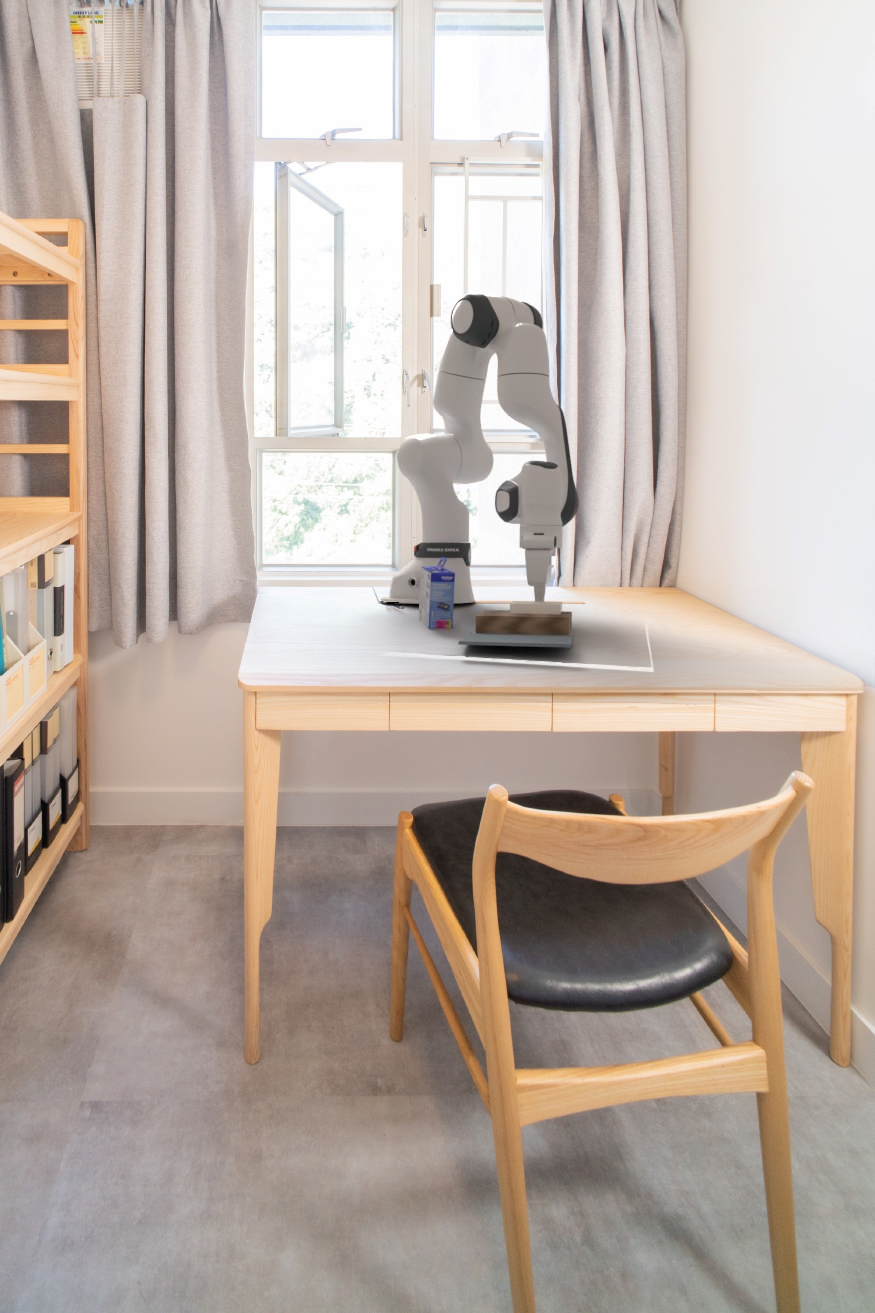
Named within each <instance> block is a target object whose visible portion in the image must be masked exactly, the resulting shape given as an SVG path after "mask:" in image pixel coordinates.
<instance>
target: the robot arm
mask: <svg viewBox="0 0 875 1313" xmlns="http://www.w3.org/2000/svg"><path fill="white" fill-rule="evenodd" d="M543 324H544V323H543V317H542V314H541V313H540V311H539V310H538V309H537V308H536V307H534V306H533V305H531V304H530V303H528V302H525V301H519V300H516V299H514V298H512V297H511V298H510V297H506V296H505V295H504V296H503V295H491V294H484V293H482V292H470V293H469V292H468V293H465V294H463V295H461V296H460V297H458V299H457V300H456V301H455V303H454V305H453V307H452V310H451V312H450V328H451V329H450V332H449V333H448V336H447V338H446V341H445V343H444V346H443V347H444V348H443V350H442V354H441V358H440V361H439V366H438V371H437V377H436V382H435V387H434V394H433V400H432V404H433V408H434V410H435V411H436V412H437V414H438V415H440V417H442V420H443V423H444V434H434V433H419V434H414V435H410V436H407V437H406V438H404V439H403V440H402V442H401V444H400V445H399V447H398V449H397V450H398V451H397V454H396V455H397V456H396V458H397V459H396V460H397V466H398V468H399V470H400V473H401V474H402V475H403V477H404V478H405V477H406V479H407V480H408V481H409V482H410V483H411V485H412V487H413V488H414V490H415V493H416V495H417V498H418V500H419V505H420V511H421V522H422V523H421V524H422V527H421V528H422V542H420V543H418V544H416V545H414V546H413V556H414V557H415V558H413V559H411V561H410V562H408V563H407V564H406V565H405V566H404V567H402V568H401V569H399V570H398V571H397V572H396V573H395V574H393V577H392V578H391V581H390V582H391V583H390V589H389V595H388V596H389V597H383V596H381V597H380V601H381V600H382V601H396V602H399V603H398V604H417V605H419V600H420V580H421V567H426V566H437V565H438V563H439V561H440V560H441V558H442V557H444V558H446V559H447V561H446V563H445V564H444V566H443V567H445V568H446V569H448V570H450V571H452V572H454V573H455V582H454V604H465V603H466V604H468V603H474V602H476V598H475V596H474V591H473V585H472V579H471V571H470V569H471V568H470V566H471V565H472V564H471V563H472V548H471V546H472V544H471V542H470V511H469V508H468V506H467V505H466V504H465V503H464V502H463V501H462V500H460V499H459V497H458V496H457V494H456V491H455V488H454V484H458V485H459V484H460V485H469V484H474V483H478V482H483V481H484V480H486V479H488V477H489V476H490V474H491V473H492V471H493V468H494V453H493V451H492V449H491V447H490V446H489V444H488V443H487V442H486V439H485V437H484V434H483V430H482V423H481V411H482V404H483V398H484V392H485V386H486V381H487V375H488V370H489V364H490V362H491V359H492V357H493V356H494V355H495V354H496V356H497V380H496V382H497V383H496V384H497V386H496V387H497V388H496V391H497V392H496V393H497V400H498V402H499V403H498V404H499V405H500V407H501V409H502V411H503V412H504V413H505V414H506V415H507V416H509V418H511V419H513V420H514V421H515V422H517V423H520V424H522V425H524V426H526V427H527V428H529V429H531V430H532V431H534V432H536V434H538V436H539V437H540V438H541V440H542V442H543V444H544V450H545V458H546V461H545V460H528V461H526V462H524V463H523V464H522V467H521V470H520V471H519V473H518V474H516V475H515V476H514V477H513V478H510V479H508V480H507V479H506V480H505V481H503V482H502V483H501V485H499V486H498V488H497V489H496V491H495V496H494V507H495V512H496V514H497V515H498V518H500V519H501V520H502V521H503V522H504V523H506V524H507V523H508V524H512V525H519V548H520V549H523V550H524V557H525V560H524V561H525V571H526V574H525V575H526V580H527V586H528V587H529V586H530V587H533V594H534V601H538V602H545V596H546V587H547V585H548V584H549V583H550V582H551V581H552V569H553V567H552V560H553V559H552V557H556V556H557V554H556V552H557V549H562V548H563V527H565V526H566V525H567V524H568V523H570V522H571V521H572V520H573V518H575V516H576V514H577V513H578V511H579V505H580V500H579V494H578V490H577V488H576V487H577V486H576V483H575V480H574V479H575V478H574V474H573V465H572V460H571V458H572V457H571V451H570V444H569V443H570V442H569V437H568V435H569V434H568V430H567V423H566V419H565V415H564V411H563V409H562V407H561V406H560V405H558V404H557V403H556V401H555V398H554V396H553V392H552V389H551V383H550V359H549V358H550V357H549V350H548V349H549V347H548V342H547V337H546V333H545V331H544V329H543V327H544V325H543ZM442 564H443V561H442V562H441V565H442Z"/></svg>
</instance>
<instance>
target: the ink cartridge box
mask: <svg viewBox="0 0 875 1313" xmlns="http://www.w3.org/2000/svg"><path fill="white" fill-rule="evenodd" d="M442 561H443V564H442V565H441V562H442ZM446 561H447V559H446V558H444V557H442V558H441V560H440V561H439V563H438V565H437V566H426V567H421V580H420V600H419V604H418V605H419V607H418V621H419V622H421V623H422V625H423V626H425V627H426V628H427V629H429V630H430V629H431V630H432V629H433V630H435V629H438V630H439V629H453V626H454V625H453V624H454V623H453V622H454V605H455V603H454V582H455V573H454V572H452V571H450V570H448V569H446V568H445V567H443V566H444V564H445V563H446Z"/></svg>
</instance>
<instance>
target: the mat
mask: <svg viewBox="0 0 875 1313" xmlns="http://www.w3.org/2000/svg"><path fill="white" fill-rule="evenodd" d="M574 639H575V635H572V634H570V635H540V634H498V633H475V632H470V633H467V634H466V636H464V637H462V638H461V639H459V640H458V643H457V644H458V645H459V646H460V645H464V646H496V647H497V646H499V647H500V646H502V647H534V648H535V647H538V648H543V647H544V648H571V647H572V645H573V642H574Z"/></svg>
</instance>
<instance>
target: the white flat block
mask: <svg viewBox="0 0 875 1313" xmlns="http://www.w3.org/2000/svg"><path fill="white" fill-rule="evenodd" d="M509 610H510V613H512V614H561V613H562V611H563V601H544V602H538V601H535V600H534V601H532V600H531V601H530V600H528V601H527V600H524V601H523V600H522V601H521V600H513V601H512V602H510V603H509Z"/></svg>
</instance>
